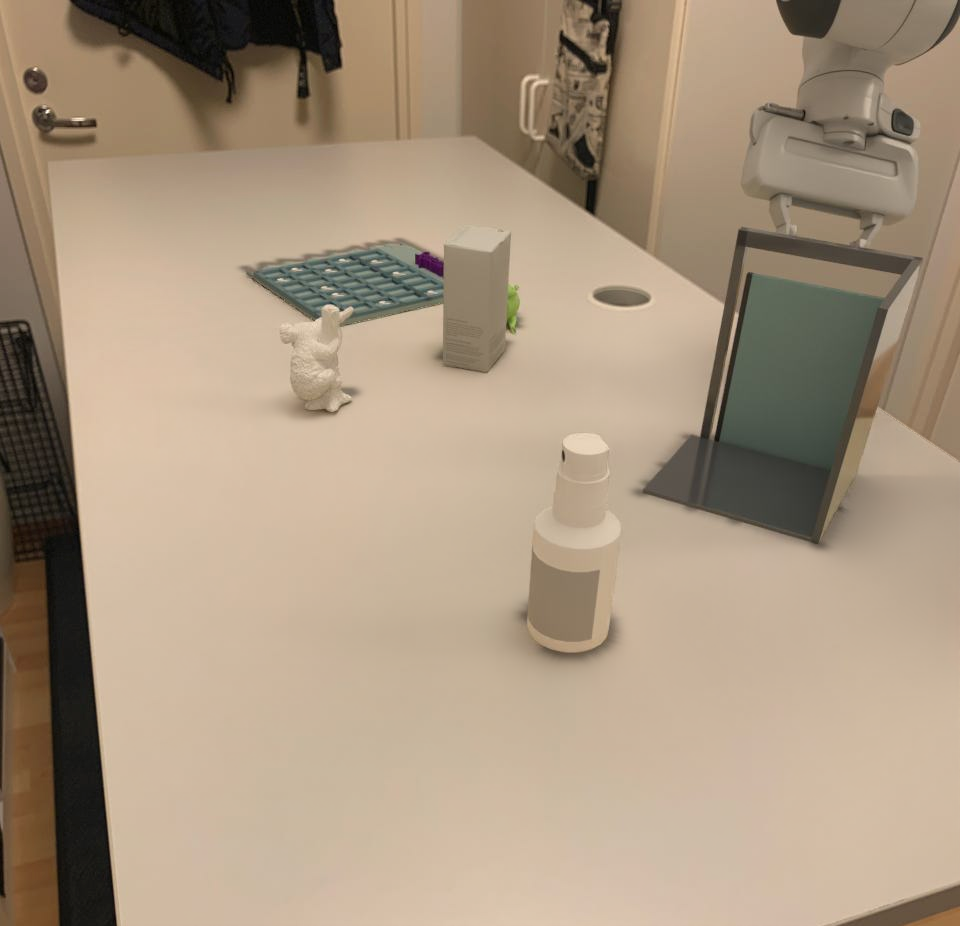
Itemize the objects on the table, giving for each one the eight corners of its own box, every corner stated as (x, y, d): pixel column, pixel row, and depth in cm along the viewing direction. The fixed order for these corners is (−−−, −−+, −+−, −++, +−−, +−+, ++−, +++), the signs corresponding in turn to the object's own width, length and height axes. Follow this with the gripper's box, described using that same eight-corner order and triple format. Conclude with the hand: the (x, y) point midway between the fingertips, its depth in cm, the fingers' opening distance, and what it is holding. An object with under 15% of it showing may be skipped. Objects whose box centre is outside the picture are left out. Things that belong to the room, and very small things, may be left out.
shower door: (847, 456, 104) (899, 282, 92) (834, 478, 100) (887, 300, 88) (729, 426, 109) (764, 257, 97) (712, 446, 105) (746, 273, 93)
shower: (853, 484, 100) (923, 257, 86) (815, 553, 90) (888, 309, 75) (693, 441, 107) (732, 225, 92) (640, 501, 97) (675, 268, 82)
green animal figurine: (472, 330, 132) (473, 289, 128) (479, 316, 136) (480, 276, 132) (516, 334, 131) (518, 292, 127) (521, 320, 135) (523, 279, 132)
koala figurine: (360, 393, 115) (353, 294, 108) (360, 417, 110) (353, 316, 103) (290, 394, 115) (279, 295, 107) (287, 419, 109) (275, 317, 102)
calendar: (245, 275, 148) (243, 260, 146) (398, 245, 161) (398, 230, 159) (327, 330, 131) (325, 314, 130) (491, 292, 144) (491, 276, 142)
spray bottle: (518, 615, 82) (529, 425, 70) (594, 608, 83) (617, 419, 71) (536, 666, 76) (551, 469, 65) (617, 658, 77) (646, 462, 66)
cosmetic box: (463, 343, 128) (464, 223, 118) (509, 350, 126) (514, 229, 117) (440, 366, 122) (440, 241, 112) (489, 374, 120) (492, 248, 110)
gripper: (770, 85, 96) (755, 225, 97) (934, 127, 102) (918, 258, 103) (737, 111, 102) (723, 243, 103) (893, 149, 108) (878, 273, 109)
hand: (822, 251), depth 103 cm, fingers open, 8 cm apart
